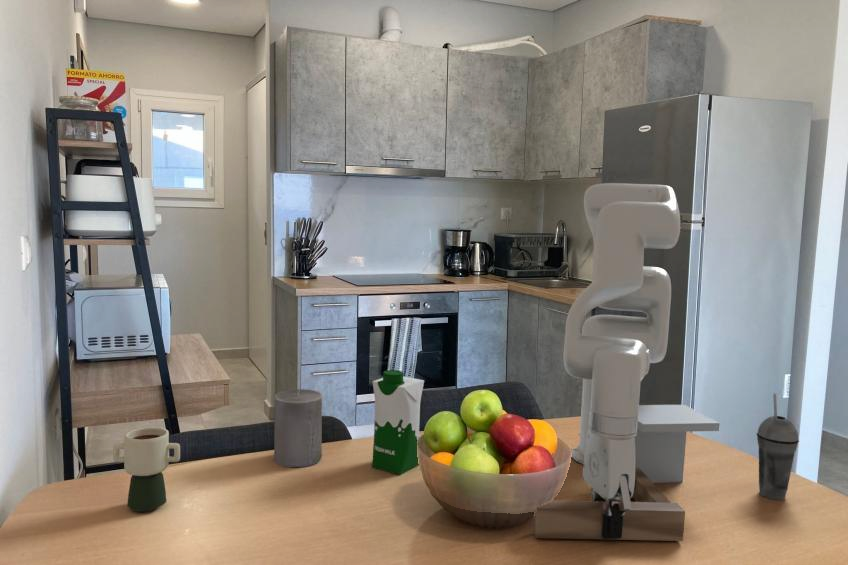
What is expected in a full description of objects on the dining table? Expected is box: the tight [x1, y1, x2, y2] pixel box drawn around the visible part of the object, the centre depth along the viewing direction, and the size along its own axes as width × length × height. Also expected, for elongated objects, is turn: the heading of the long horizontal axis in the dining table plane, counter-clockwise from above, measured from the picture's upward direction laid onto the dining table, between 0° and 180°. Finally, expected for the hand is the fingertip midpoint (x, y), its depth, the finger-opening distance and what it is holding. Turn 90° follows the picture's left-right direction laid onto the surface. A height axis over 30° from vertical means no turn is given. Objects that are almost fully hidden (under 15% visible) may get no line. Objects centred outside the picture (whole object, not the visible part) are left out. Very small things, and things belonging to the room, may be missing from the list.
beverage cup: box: [756, 393, 800, 501], centre depth 132 cm, size 7×7×20 cm
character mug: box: [112, 426, 181, 512], centre depth 117 cm, size 11×7×13 cm, turn 97°
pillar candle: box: [273, 388, 323, 468], centre depth 142 cm, size 10×10×15 cm
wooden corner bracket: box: [531, 468, 686, 542], centre depth 121 cm, size 21×24×5 cm
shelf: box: [634, 404, 720, 484], centre depth 132 cm, size 12×15×16 cm
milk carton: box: [371, 369, 425, 476], centre depth 140 cm, size 9×9×20 cm
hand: (605, 530), depth 113 cm, fingers closed on wooden corner bracket, 3 cm apart
